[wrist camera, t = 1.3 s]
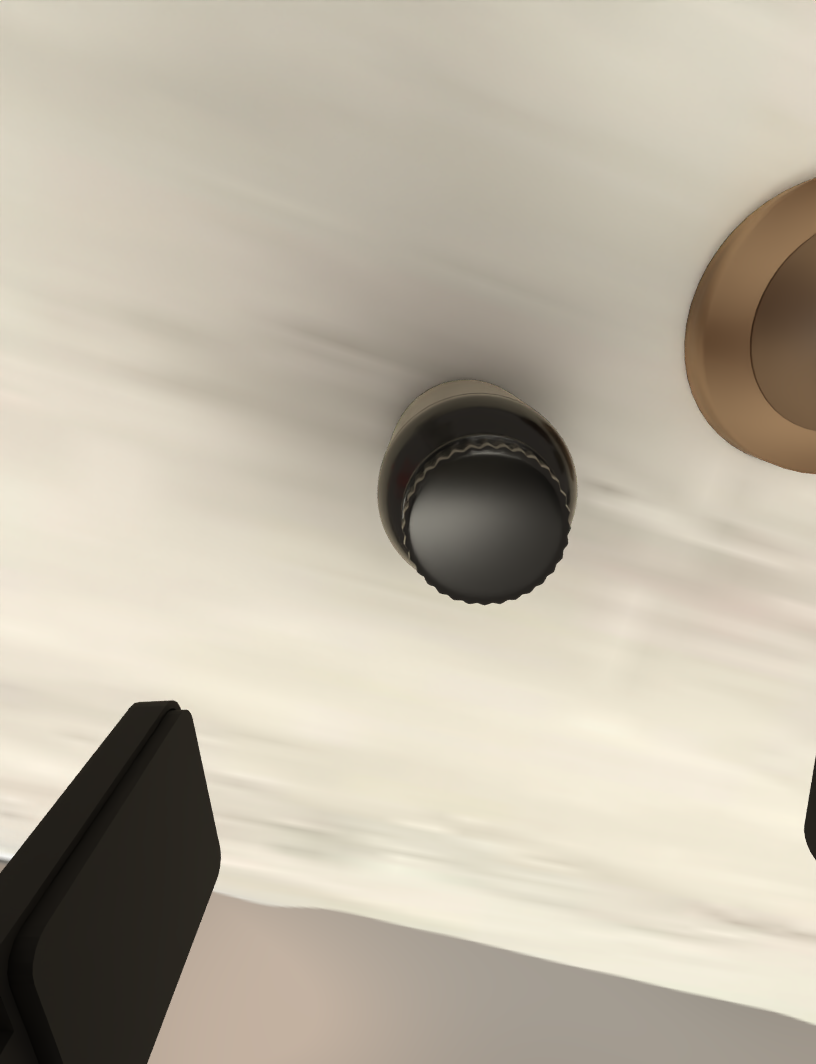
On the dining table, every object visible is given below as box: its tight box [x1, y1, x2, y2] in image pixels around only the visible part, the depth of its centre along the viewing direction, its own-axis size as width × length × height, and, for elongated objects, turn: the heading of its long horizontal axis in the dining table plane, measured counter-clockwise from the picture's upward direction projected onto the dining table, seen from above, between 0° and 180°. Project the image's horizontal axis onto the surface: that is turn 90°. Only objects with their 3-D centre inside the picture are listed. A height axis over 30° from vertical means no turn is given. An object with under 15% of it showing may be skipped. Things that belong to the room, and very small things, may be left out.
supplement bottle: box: [377, 380, 577, 605], centre depth 23 cm, size 7×7×12 cm
